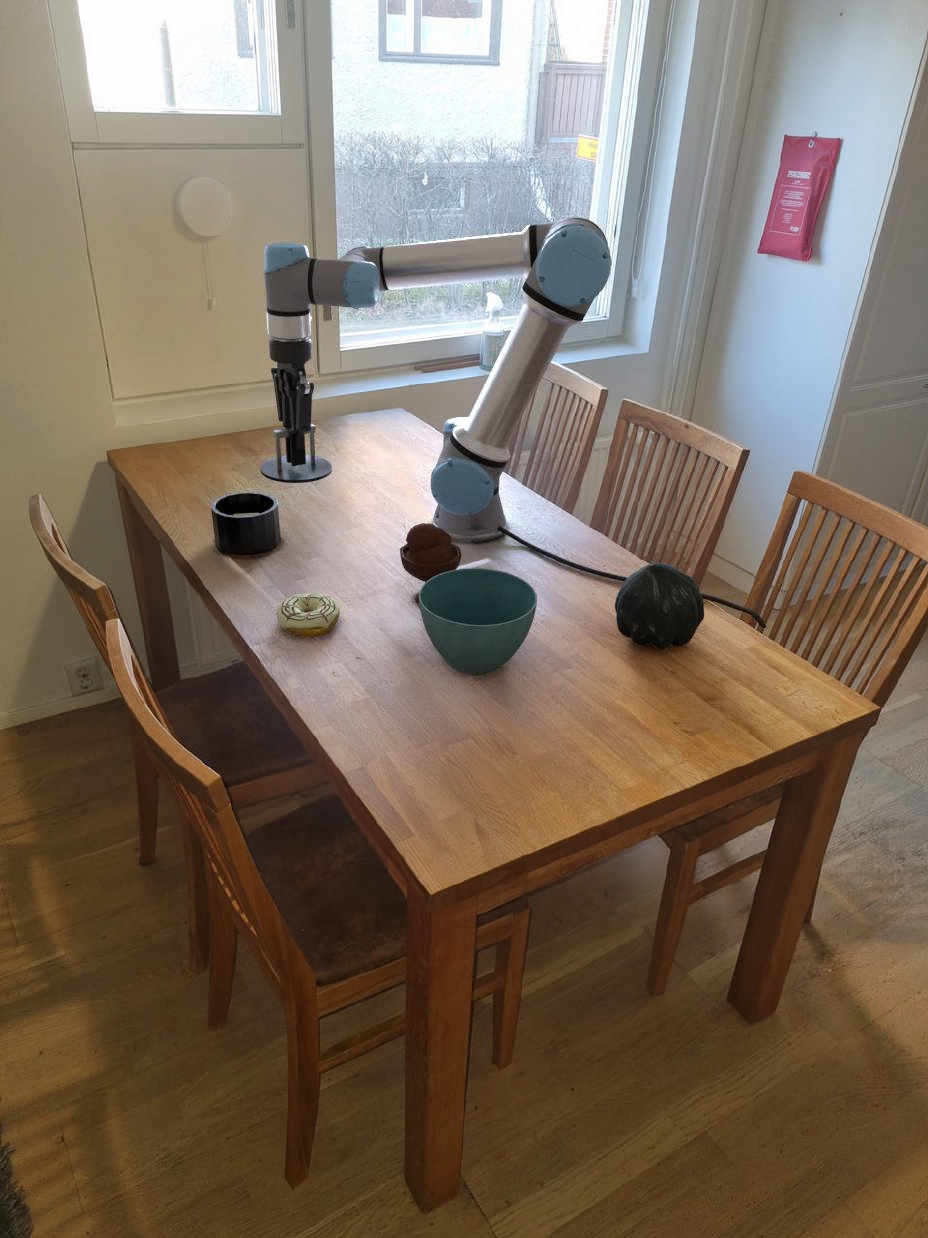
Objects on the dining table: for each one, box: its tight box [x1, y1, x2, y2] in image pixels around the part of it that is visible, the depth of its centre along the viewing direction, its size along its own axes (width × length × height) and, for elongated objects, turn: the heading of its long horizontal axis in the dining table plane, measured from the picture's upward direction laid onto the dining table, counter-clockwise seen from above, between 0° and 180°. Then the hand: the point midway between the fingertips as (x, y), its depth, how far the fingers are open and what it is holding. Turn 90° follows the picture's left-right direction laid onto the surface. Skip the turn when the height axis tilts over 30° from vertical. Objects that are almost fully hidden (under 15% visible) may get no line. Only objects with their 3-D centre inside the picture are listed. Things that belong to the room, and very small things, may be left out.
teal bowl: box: [418, 567, 538, 676], centre depth 142 cm, size 18×18×12 cm
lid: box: [259, 423, 333, 484], centre depth 171 cm, size 14×14×9 cm
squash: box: [614, 562, 705, 651], centre depth 150 cm, size 14×15×15 cm
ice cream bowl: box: [399, 522, 462, 605], centre depth 159 cm, size 11×11×15 cm
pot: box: [210, 491, 282, 557], centre depth 177 cm, size 13×13×8 cm
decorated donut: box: [275, 592, 340, 639], centre depth 153 cm, size 10×11×4 cm
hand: (296, 462), depth 172 cm, fingers closed on lid
